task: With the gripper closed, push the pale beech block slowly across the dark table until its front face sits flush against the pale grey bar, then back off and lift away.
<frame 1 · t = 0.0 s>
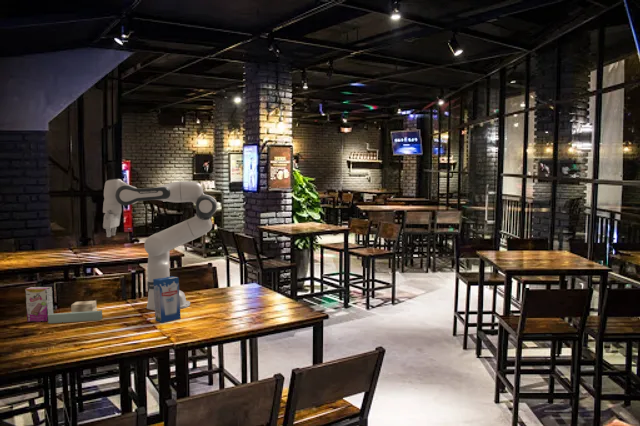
hand: (110, 236, 280), 39 cm above the table, tool pointing down, fingers open, 8 cm apart
pale grey bar: (75, 320, 261), on the table
milk carton: (168, 320, 257), on the table
block: (84, 314, 275), on the table
candy bar box: (40, 321, 264), on the table
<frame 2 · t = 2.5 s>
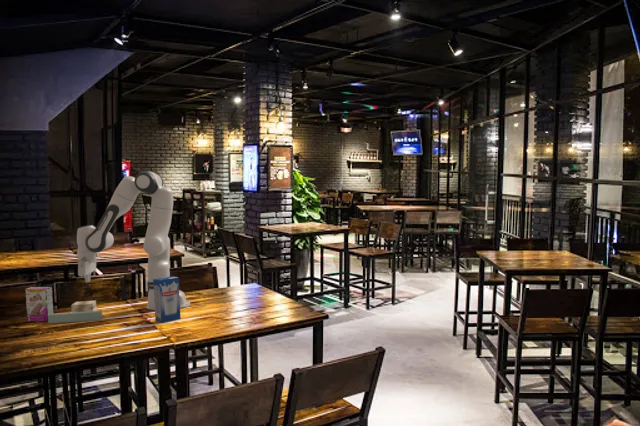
hand: (87, 282, 284), 15 cm above the table, tool pointing down, fingers closed
nothing on the table moved.
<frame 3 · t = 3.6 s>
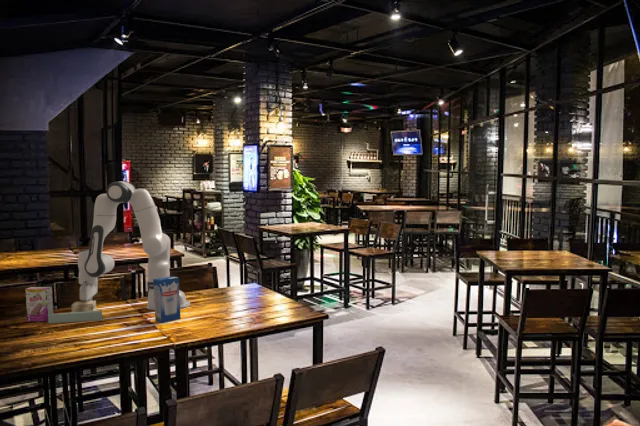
hand: (89, 305, 285), 2 cm above the table, tool pointing down, fingers closed
nothing on the table moved.
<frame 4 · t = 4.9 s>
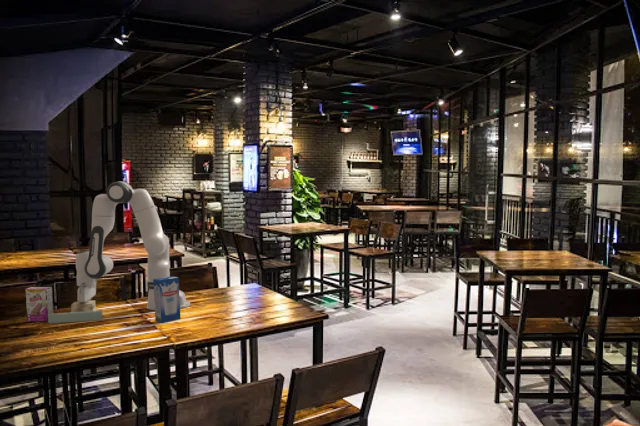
hand: (87, 307, 281), 2 cm above the table, tool pointing down, fingers closed
block: (84, 314, 275), on the table, touching gripper
everything else where it was.
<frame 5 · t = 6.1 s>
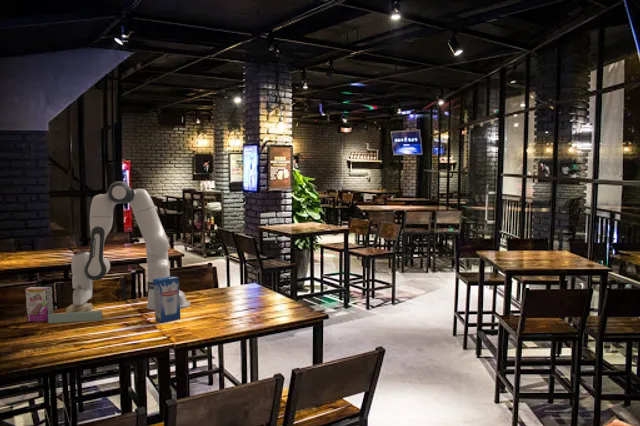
hand: (83, 310, 274), 2 cm above the table, tool pointing down, fingers closed
block: (80, 317, 268), on the table, touching gripper
everything else where it was.
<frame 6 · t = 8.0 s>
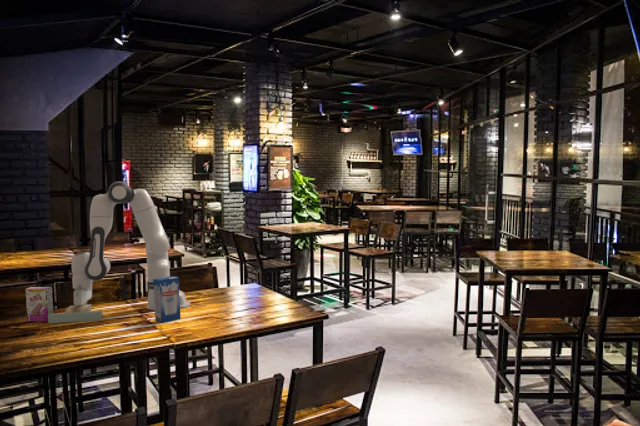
hand: (83, 310, 274), 2 cm above the table, tool pointing down, fingers closed
block: (79, 318, 266), on the table, touching pale grey bar
everything else where it was.
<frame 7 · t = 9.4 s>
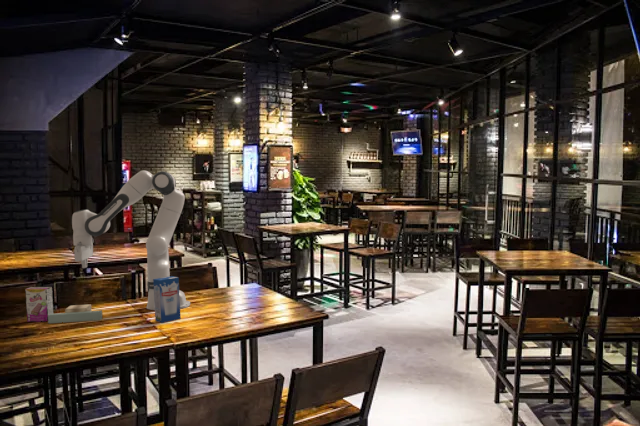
hand: (84, 267, 279), 23 cm above the table, tool pointing down, fingers closed
nothing on the table moved.
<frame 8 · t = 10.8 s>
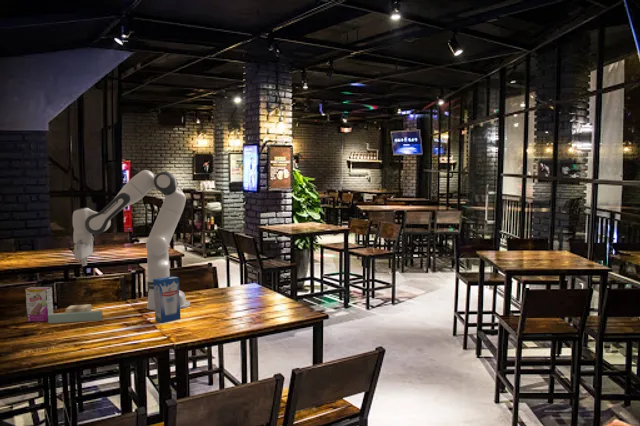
hand: (84, 265, 279), 24 cm above the table, tool pointing down, fingers closed
block: (79, 318, 266), on the table
everything else where it was.
at the end: block inside the target area on the table beside the pale grey bar (0.0 cm from its centre), on the table; block tilted 0°; block touching table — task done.
